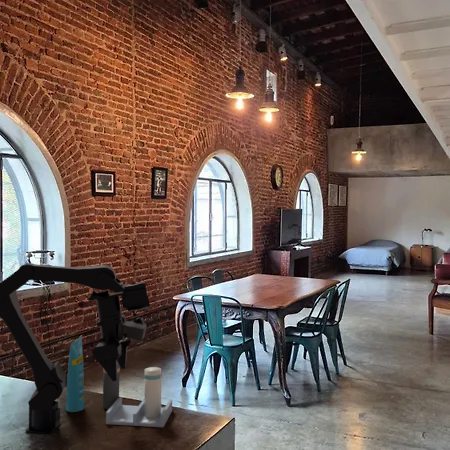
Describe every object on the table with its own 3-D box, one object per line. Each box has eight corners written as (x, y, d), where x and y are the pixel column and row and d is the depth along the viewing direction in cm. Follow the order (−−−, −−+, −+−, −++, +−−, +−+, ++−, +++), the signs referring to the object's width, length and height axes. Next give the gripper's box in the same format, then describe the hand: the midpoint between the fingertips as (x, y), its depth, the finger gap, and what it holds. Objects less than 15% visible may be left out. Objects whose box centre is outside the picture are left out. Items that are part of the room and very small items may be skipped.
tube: (80, 414, 133) (81, 343, 133) (62, 414, 133) (63, 342, 133) (87, 404, 141) (88, 336, 141) (69, 403, 141) (70, 336, 140)
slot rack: (105, 424, 128) (106, 412, 127) (119, 407, 138) (119, 397, 138) (163, 427, 126) (163, 415, 126) (172, 410, 137) (172, 399, 137)
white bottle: (144, 418, 129) (144, 372, 129) (144, 412, 134) (144, 367, 134) (161, 417, 130) (162, 371, 130) (160, 411, 135) (160, 366, 134)
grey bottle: (100, 409, 137) (101, 366, 137) (105, 403, 142) (106, 361, 141) (116, 410, 137) (116, 366, 137) (121, 404, 141) (121, 362, 141)
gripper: (133, 318, 117) (143, 383, 118) (147, 303, 136) (156, 358, 137) (87, 325, 118) (97, 389, 118) (107, 308, 136) (116, 364, 137)
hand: (119, 374), depth 127 cm, fingers open, 9 cm apart
